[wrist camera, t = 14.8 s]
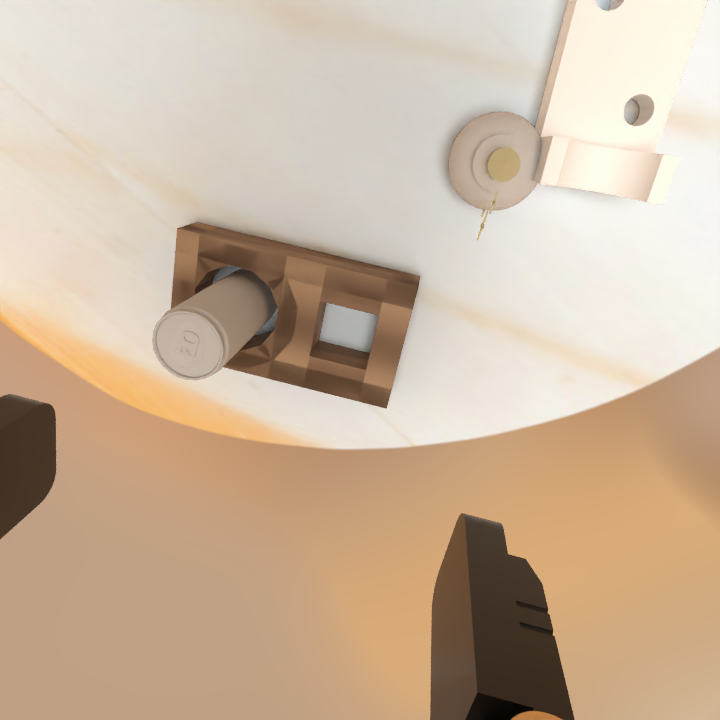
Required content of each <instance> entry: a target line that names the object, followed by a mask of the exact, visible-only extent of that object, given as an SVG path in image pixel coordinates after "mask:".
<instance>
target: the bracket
mask: <svg viewBox="0 0 720 720" xmlns="http://www.w3.org/2000/svg"><path fill="white" fill-rule="evenodd" d="M707 1H708V0H611V6H610V10H609V11H606V10H602V9H601V8H600V7H599V6H598V5H597V3H596V1H595V0H568V3H567V6H566V10H565V14H564V18H563V22H562V26H561V29H560V33H559V37H558V41H557V45H556V49H555V53H554V56H553V60H552V64H551V68H550V72H549V76H548V80H547V83H546V87H545V91H544V95H543V99H542V103H541V107H540V110H539V114H538V118H537V122H536V126H535V129H536V131H537V132H538V134H539V136H540V138H541V152H540V157H539V162H538V166H537V170H536V174H535V177H534V180H533V181H534V182H537V183H540V184H546V185H551V186H563V187H570V188H576V189H582V190H588V191H594V192H600V193H605V194H610V195H616V196H621V197H626V198H631V199H636V200H640V201H645V202H650V203H655V204H661V205H664V202H665V200H666V197H667V194H668V191H669V189H670V186H671V183H672V180H673V178H674V175H675V172H676V169H677V167H678V164H679V161H680V158H681V157H677V156H671V155H665V154H655V152H656V149H657V147H658V144H659V141H660V138H661V135H662V132H663V129H664V126H665V123H666V120H667V118H668V115H669V112H670V109H671V106H672V103H673V100H674V97H675V94H676V91H677V88H678V86H679V83H680V80H681V77H682V74H683V71H684V68H685V65H686V62H687V59H688V57H689V54H690V51H691V48H692V45H693V42H694V39H695V36H696V33H697V30H698V27H699V25H700V22H701V19H702V16H703V13H704V10H705V7H706V4H707ZM631 98H632V99H634V100H636V101H637V103H638V104H639V107H640V113H639V116H638V118H637V120H636V121H635V122H634V123H633V124H632V125H630V124H628V123H627V122H626V121H625V119H624V115H623V111H624V107H625V105H626V103H627V102H628V100H629V99H631Z"/></svg>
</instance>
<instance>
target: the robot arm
mask: <svg viewBox="0 0 720 720" xmlns="http://www.w3.org/2000/svg"><path fill="white" fill-rule="evenodd" d="M55 421H56V419H55V411H54V408H53V407H52V406H51V405H50V404H47V403H43V402H39V401H36V400H32V399H28V398H24V397H20V396H17V395H12V394H8V395H5V396H2V397H0V539H1V538H2V537H3V536H4V535H5V534H7V533H8V532H9V531H10V530H11V529H12V528H13V527H14V526H16V525H17V524H18V523H19V522H20V521H21V520H22V519H23V518H24V517H25V516H27V515H28V514H29V513H30V512H31V511H32V510H33V509H34V508H36V507H37V506H38V505H39V504H40V503H41V502H42V501H43V500H44V499H45V497H46V496H47V494H48V493H49V491H50V489H51V487H52V485H53V482H54V479H55V474H56V422H55ZM547 612H548V607H547V603H546V598H545V594H544V590H543V585H542V583H541V582H540V580H539V578H538V577H537V575H536V574H535V573H534V571H533V569H532V568H531V566H530V565H529V563H528V562H527V560H526V559H524V558H520V557H516V556H512V555H509V554H508V553H507V546H506V541H505V535H504V529H503V526H502V524H501V523H498V522H494V521H490V520H486V519H482V518H479V517H475V516H471V515H467V514H461V515H460V516H459V518H458V520H457V522H456V525H455V528H454V531H453V534H452V537H451V539H450V542H449V545H448V548H447V551H446V553H445V556H444V559H443V562H442V565H441V568H440V570H439V573H438V577H437V580H436V585H435V589H434V595H433V602H432V638H431V639H432V640H431V642H432V643H431V716H430V720H574V716H573V711H572V707H571V704H570V699H569V695H568V690H567V686H566V682H565V678H564V674H563V669H562V666H561V661H560V657H559V653H558V648H557V644H556V640H555V637H554V636H553V627H552V624H551V619H550V615H549V614H548V613H547Z"/></svg>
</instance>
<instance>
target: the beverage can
mask: <svg viewBox="0 0 720 720" xmlns="http://www.w3.org/2000/svg"><path fill="white" fill-rule="evenodd" d="M275 307H276V302H275V299H274V297H273V294H272V292H271V289H270V287H269V286H268V285H267V284H266V283H265V282H264V281H263V280H262V279H260V278H259V277H258V276H257V275H256V274H255V273H254V272H253V271H251V270H239V271H236V272H234V273H232V274H230V275H228V276H227V277H225V278H223V279H221V280H220V281H218V282H216V283H214V284H212V285H211V286H209V287H207V288H206V289H204V290H202V291H200V292H199V293H197V294H196V295H194V296H192V297H191V298H189V299H187V300H186V301H184V302H182V303H181V304H179V305H177V306H176V307H174V308H172V309H171V310H169V311H168V312H166V313H165V315H164V316H163V317H162V318H161V319H160V321H159V322H158V323H157V324H156V327H155V329H154V331H153V339H152V342H153V348H154V351H155V354H156V356H157V358H158V360H159V361H160V363H161V364H162V365H163V367H165V368H166V369H167V370H168V371H169V372H170V373H172V374H174V375H176V376H177V377H180V378H183V379H187V380H200V379H204V378H207V377H208V376H211V375H213V374H214V373H216V372H218V371H219V370H220V369H221V368H222V367H223V366H224V365H225V364H226V363H227V362H228V361H229V360H230V359H231V358H232V357H233V356H234V355H235V354H236V353H237V352H238V351H239V350H240V349H241V348H242V347H243V346H244V345H245V344H246V343H247V342H248V341H249V340H250V339H251V338H252V337H253V336H254V335H255V334H256V333H257V332H258V331H259V330H260V329H261V328H262V326H263V325H264V324H265V323H266V322H267V321H268V320H269V319H270V318H271V317H272V316H273V314H274V311H275Z"/></svg>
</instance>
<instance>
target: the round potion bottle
mask: <svg viewBox="0 0 720 720" xmlns="http://www.w3.org/2000/svg"><path fill="white" fill-rule="evenodd" d="M540 152H541V138H540V136H539V134H538V132H537V131H536V129H535V128H534V127H533V125H532V124H531V123H529V122H528V121H527V120H526V119H524V118H523V117H521V116H519V115H516V114H513V113H509V112H492V113H488V114H484V115H482V116H479V117H478V118H476V119H474V120H473V121H471V122H470V123H469V124H467V125H466V126H465V127H464V128H463V129H462V131H461V132H460V133H459V134H458V136H457V138H456V139H455V141H454V143H453V146H452V148H451V152H450V156H449V174H450V178H451V182H452V184H453V186H454V188H455V190H456V191H457V193H458V194H459V195H460V197H461V198H462V199H463V200H465V201H466V202H467V203H469V204H470V205H472V206H474V207H476V208H480V209H483V213H484V211H485V210H490V213H491V211H492V210H502V209H506V208H509V207H512V206H514V205H516V204H517V203H519V202H521V201H522V200H523V199H525V198H526V197H527V196H528V195H529V194H530V193H531V192H532V190H533V189H534V188H535V186H536V185H537V182H534V181H533V180H534V177H535V174H536V170H537V166H538V162H539V157H540ZM483 213H482V216H483ZM487 213H488V211H487ZM487 213H486V216H487ZM490 213H489V214H490ZM482 216H481V217H482ZM486 216H485V218H484V221H483V223H482V224H481V229H480V232H479V235H478V238H477V240H478V239H479V236H480V233H481V231H482V229H483V228H484V222H485V219H486Z"/></svg>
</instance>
